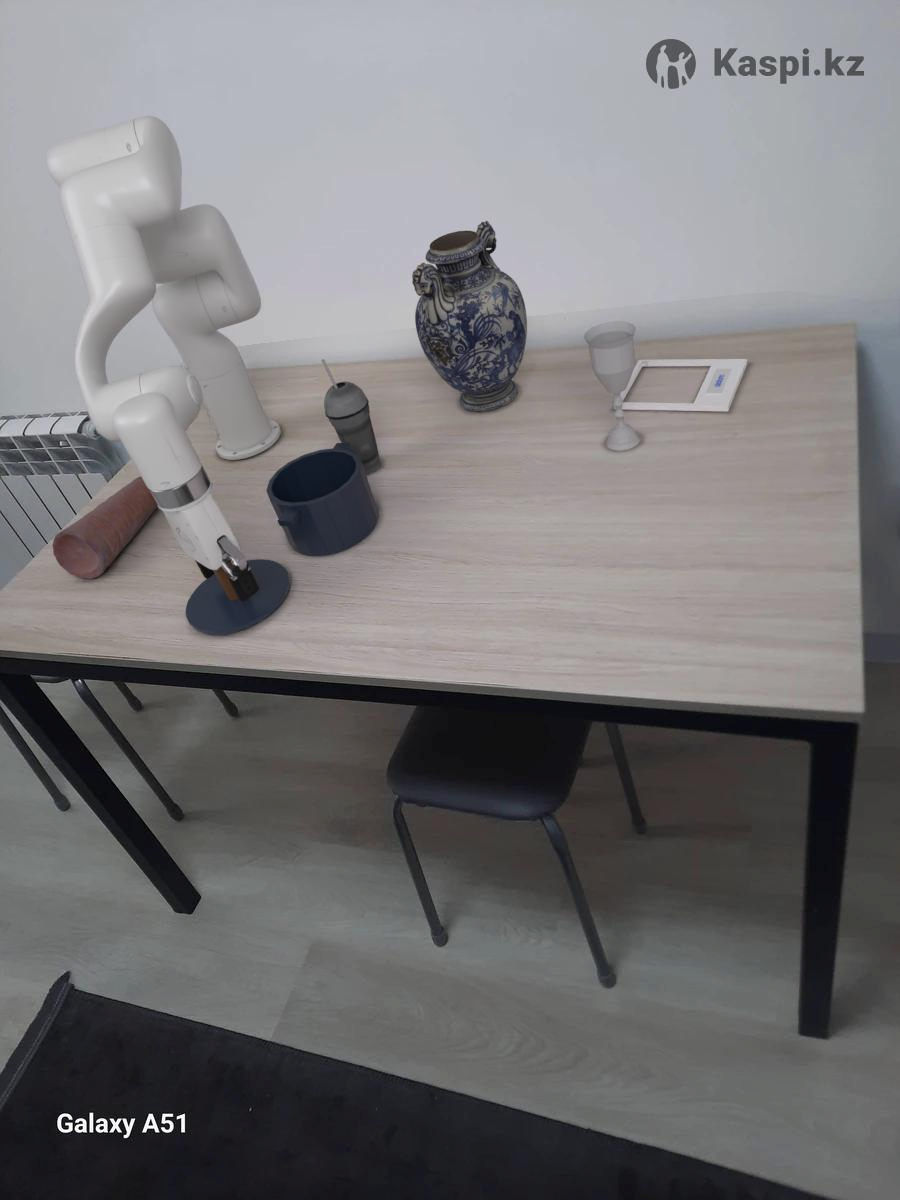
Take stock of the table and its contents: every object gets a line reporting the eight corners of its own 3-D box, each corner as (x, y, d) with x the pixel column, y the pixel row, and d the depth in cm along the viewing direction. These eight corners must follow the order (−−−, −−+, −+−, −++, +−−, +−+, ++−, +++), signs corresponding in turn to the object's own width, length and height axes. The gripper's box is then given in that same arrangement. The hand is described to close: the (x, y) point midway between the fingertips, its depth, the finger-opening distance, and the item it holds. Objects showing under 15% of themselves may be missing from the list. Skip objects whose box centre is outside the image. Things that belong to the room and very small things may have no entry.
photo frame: (727, 405, 130) (613, 403, 139) (727, 411, 131) (614, 409, 139) (747, 357, 139) (638, 358, 148) (747, 364, 140) (639, 364, 148)
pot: (264, 565, 130) (240, 515, 124) (322, 487, 143) (302, 439, 137) (347, 570, 124) (326, 518, 118) (399, 488, 137) (383, 438, 131)
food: (114, 579, 137) (85, 536, 131) (67, 580, 140) (37, 538, 134) (175, 499, 152) (152, 457, 146) (131, 502, 155) (107, 461, 149)
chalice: (594, 453, 131) (578, 345, 120) (605, 429, 136) (590, 322, 124) (641, 454, 128) (629, 342, 117) (651, 429, 133) (640, 319, 121)
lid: (168, 633, 123) (147, 598, 118) (224, 562, 133) (206, 528, 129) (258, 642, 116) (239, 606, 112) (309, 567, 127) (293, 532, 122)
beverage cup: (382, 477, 141) (344, 367, 128) (342, 481, 143) (301, 373, 130) (393, 453, 146) (357, 344, 133) (353, 457, 148) (315, 350, 135)
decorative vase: (479, 363, 164) (444, 213, 146) (563, 371, 153) (536, 211, 135) (413, 422, 152) (367, 267, 135) (499, 435, 142) (461, 269, 124)
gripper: (126, 484, 116) (181, 579, 127) (189, 520, 105) (243, 621, 116) (172, 455, 119) (222, 550, 130) (237, 488, 108) (286, 588, 119)
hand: (231, 583), depth 123 cm, fingers open, 9 cm apart
